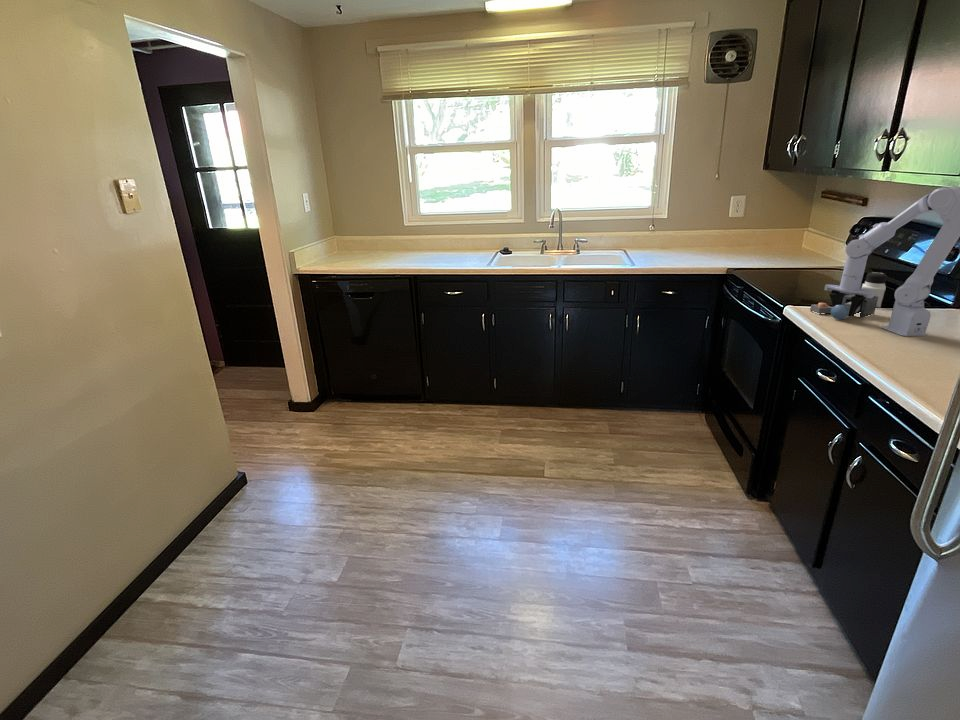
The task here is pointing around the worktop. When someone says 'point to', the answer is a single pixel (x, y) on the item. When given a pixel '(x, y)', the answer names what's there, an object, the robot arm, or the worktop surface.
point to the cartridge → (843, 310)
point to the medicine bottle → (876, 285)
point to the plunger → (822, 304)
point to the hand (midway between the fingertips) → (842, 314)
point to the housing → (864, 304)
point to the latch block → (821, 309)
